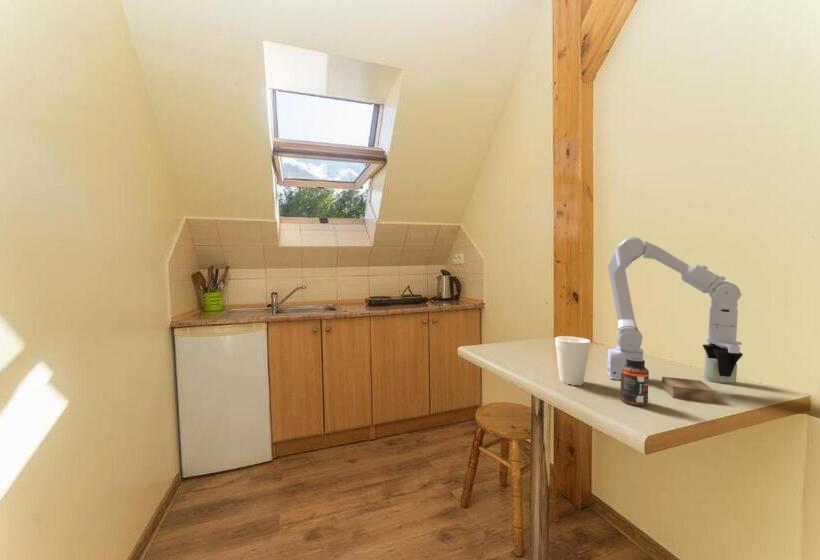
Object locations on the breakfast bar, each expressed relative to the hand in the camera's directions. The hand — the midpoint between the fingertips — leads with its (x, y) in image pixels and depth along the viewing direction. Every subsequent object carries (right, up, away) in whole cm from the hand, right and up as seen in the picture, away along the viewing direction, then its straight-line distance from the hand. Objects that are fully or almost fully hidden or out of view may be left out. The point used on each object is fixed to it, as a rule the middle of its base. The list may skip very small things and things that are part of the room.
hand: (720, 373), depth 96 cm
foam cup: (-38, -5, +8) cm, 39 cm away
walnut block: (-10, -6, -1) cm, 12 cm away
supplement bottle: (-29, -6, -7) cm, 31 cm away
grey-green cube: (0, -2, 0) cm, 2 cm away
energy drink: (+9, -6, +12) cm, 16 cm away
